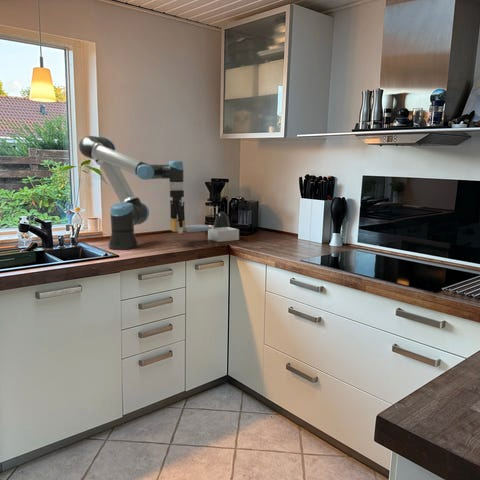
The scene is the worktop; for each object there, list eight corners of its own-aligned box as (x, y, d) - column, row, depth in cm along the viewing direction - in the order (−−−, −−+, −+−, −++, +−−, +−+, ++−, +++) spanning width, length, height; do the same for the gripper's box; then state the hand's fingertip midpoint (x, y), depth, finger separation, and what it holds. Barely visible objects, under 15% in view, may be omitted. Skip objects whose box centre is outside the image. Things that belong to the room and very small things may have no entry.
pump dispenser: (210, 236, 275) (209, 211, 272) (222, 234, 282) (222, 210, 279) (220, 238, 267) (220, 213, 265) (233, 236, 274) (233, 212, 272)
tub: (218, 243, 248) (218, 231, 247) (208, 240, 258) (207, 228, 257) (238, 241, 256) (239, 229, 254) (228, 238, 266) (228, 227, 264)
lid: (177, 233, 233) (176, 220, 232) (167, 230, 244) (167, 218, 243) (211, 230, 244) (211, 218, 243) (201, 228, 255) (201, 216, 254)
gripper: (190, 190, 231) (191, 233, 234) (175, 188, 246) (176, 229, 250) (177, 190, 227) (178, 235, 230) (163, 189, 242) (164, 230, 246)
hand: (177, 232), depth 240 cm, fingers closed on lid, 6 cm apart
